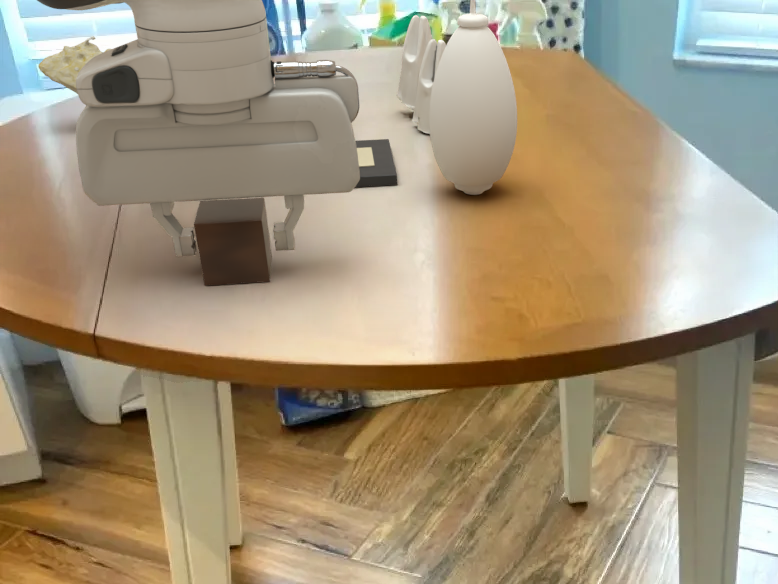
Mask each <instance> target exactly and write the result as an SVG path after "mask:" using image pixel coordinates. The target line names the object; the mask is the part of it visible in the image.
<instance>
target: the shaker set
mask: <svg viewBox="0 0 778 584" xmlns="http://www.w3.org/2000/svg"><path fill="white" fill-rule="evenodd" d="M406 30H407V31H406V34H405V36H404V37H405V38H404V43H403V47H402V53H401V69H400V75H399V81H398V86H397V92H396V93H397V94H396V98H398V100H399V101H400V102H401V104H403V105H404V106H405V107H407V108H409V109H410V110H412V111H413V114H412V120H411V121H412V123H417V130H419V131H421V132H423V133H425V134H429V135H430V124H429V115H430V101H431V94H432V88H433V83H434V79H435V75H436V72H437V68H438V65H439V62H440V59H441V57H442V54H443V52H444V49H445V47H446V45H447V43H446V42H445V41H444V40H443V39H439V40H436V39H434V38H433V35H432V31H431V25H430V22H429V19H428V17H426V16H425V15H421V16H420V17H419V15H417V14H415V15H413V16H412V17H411V19H410V21H409V24H408V27H407V29H406Z"/></svg>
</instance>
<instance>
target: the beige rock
mask: <svg viewBox="0 0 778 584" xmlns="http://www.w3.org/2000/svg"><path fill="white" fill-rule="evenodd" d="M90 40H92V41H94V40H96V37H95V36H93V35H92V36H90V37H88V38H86V39H85V40H84V41H83V42H80V43H78V44H76V45H74V46H68V45H64V46H63V48H62V50H61V51H59V52H58V53H55V54H52V55H48V56H46V57H45V58H43V59H42V60H41V61H40V63H38V69H39V71H40V72H41V73H42V74H43V75H44V76H45V77H47V78H49V80H51V81H52V82H54V83H57V84H60V85H62V86H64V87H65V88H67V89H69V90H70V91H72V92H74V93H75V94H76V95H78V93H77V88H76V78H77V75H78V73H79V71H80V70H81V69H82V67H83V66H84V65H85V64H86V63H87V62H88V61H90V60H91V59H92V58H94V57H95V56H97V55H99V54H101V53H103V52H106V51H108V50H111V49H112V48H107V49H105V51H101V49H100V47H99V46H97V45H96V44H94V43H92V42H90Z"/></svg>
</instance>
